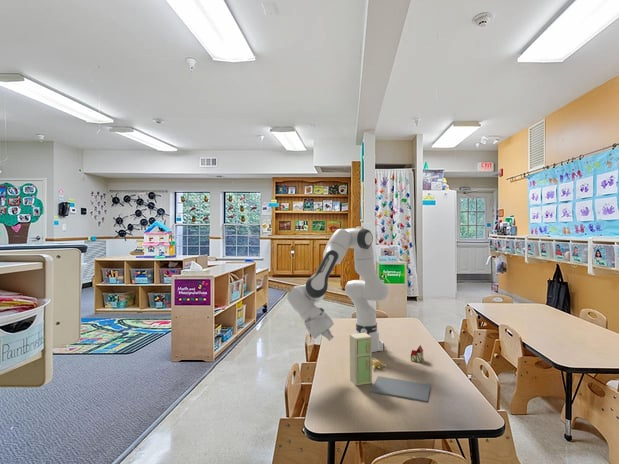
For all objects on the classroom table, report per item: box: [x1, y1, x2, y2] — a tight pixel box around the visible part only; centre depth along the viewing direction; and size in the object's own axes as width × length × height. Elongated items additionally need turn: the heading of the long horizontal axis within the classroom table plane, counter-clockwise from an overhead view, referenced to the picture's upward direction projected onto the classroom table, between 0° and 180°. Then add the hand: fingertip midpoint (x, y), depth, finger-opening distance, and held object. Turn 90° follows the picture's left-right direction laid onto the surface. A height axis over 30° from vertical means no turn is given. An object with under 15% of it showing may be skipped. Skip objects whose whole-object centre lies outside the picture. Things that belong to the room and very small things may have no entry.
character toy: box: [372, 358, 388, 370], centre depth 175 cm, size 8×3×8 cm
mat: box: [369, 375, 432, 403], centre depth 151 cm, size 16×23×1 cm
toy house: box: [410, 344, 425, 364], centre depth 184 cm, size 6×7×8 cm
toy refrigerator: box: [349, 333, 373, 386], centre depth 158 cm, size 8×7×21 cm
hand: (331, 339), depth 164 cm, fingers closed
